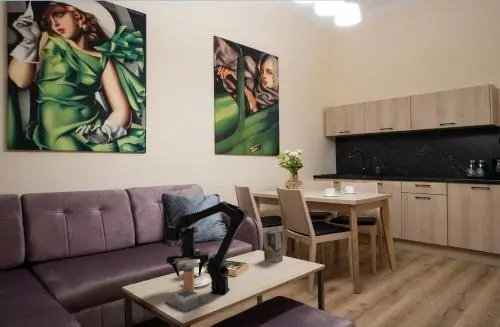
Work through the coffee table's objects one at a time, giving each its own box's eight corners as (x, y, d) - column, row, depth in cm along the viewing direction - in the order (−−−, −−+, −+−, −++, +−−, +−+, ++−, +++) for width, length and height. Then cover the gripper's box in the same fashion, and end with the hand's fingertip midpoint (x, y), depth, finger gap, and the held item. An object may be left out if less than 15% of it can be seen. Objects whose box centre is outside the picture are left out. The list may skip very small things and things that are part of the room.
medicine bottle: (199, 276, 160) (198, 252, 160) (186, 275, 161) (185, 252, 161) (204, 271, 167) (203, 248, 167) (191, 271, 168) (190, 248, 168)
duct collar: (207, 302, 129) (207, 293, 129) (185, 312, 121) (185, 302, 121) (186, 294, 138) (186, 285, 138) (164, 302, 130) (164, 293, 130)
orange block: (194, 287, 146) (193, 265, 146) (192, 290, 142) (192, 268, 142) (185, 287, 146) (184, 265, 146) (183, 291, 142) (183, 268, 142)
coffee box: (283, 260, 183) (282, 232, 183) (276, 263, 178) (275, 234, 178) (270, 257, 189) (270, 230, 189) (263, 260, 184) (263, 232, 184)
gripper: (210, 237, 152) (211, 269, 152) (170, 238, 152) (171, 271, 152) (208, 242, 141) (209, 278, 141) (165, 244, 140) (166, 280, 140)
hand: (189, 276), depth 144 cm, fingers open, 9 cm apart
